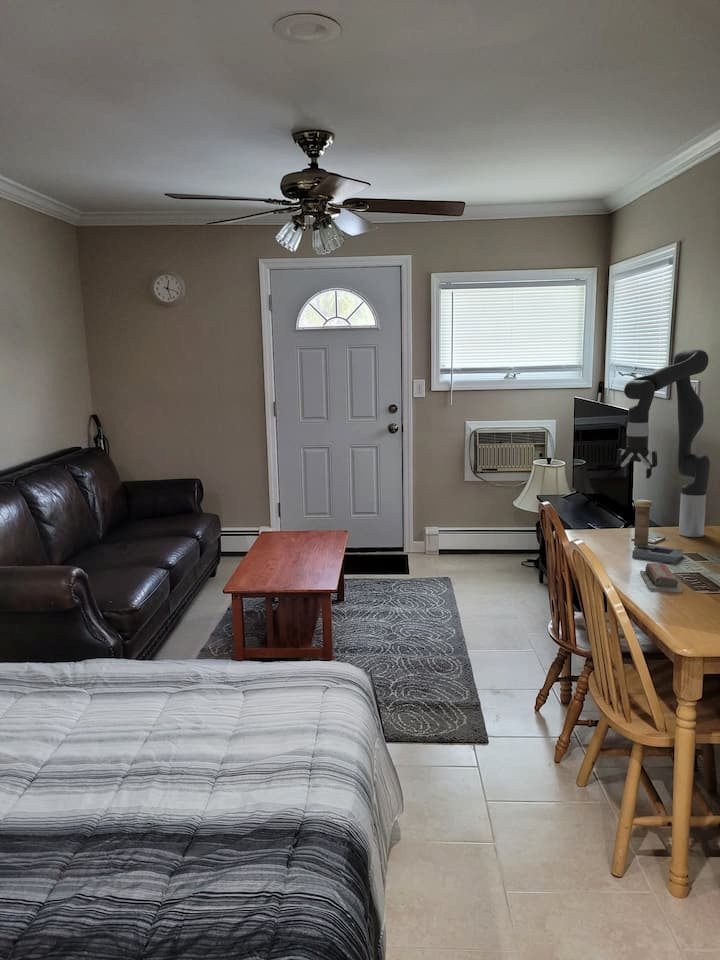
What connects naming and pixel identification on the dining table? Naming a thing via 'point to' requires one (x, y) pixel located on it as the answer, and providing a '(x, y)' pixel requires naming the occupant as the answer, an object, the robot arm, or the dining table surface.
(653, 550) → the keyhole plate
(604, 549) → the dining table surface
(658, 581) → the packaged product
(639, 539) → the walnut peg
